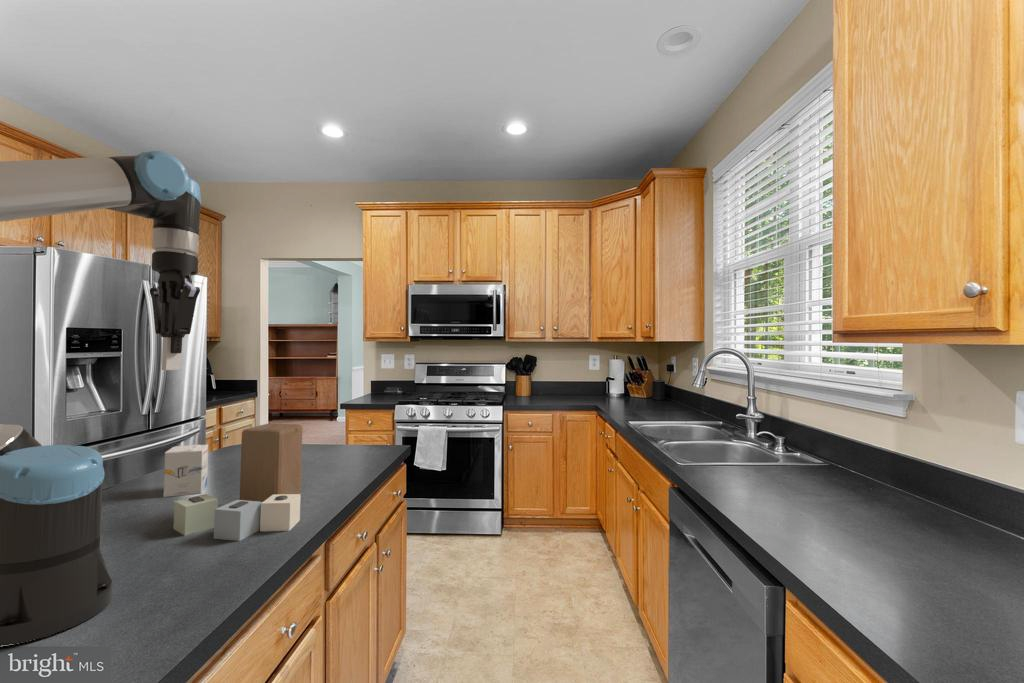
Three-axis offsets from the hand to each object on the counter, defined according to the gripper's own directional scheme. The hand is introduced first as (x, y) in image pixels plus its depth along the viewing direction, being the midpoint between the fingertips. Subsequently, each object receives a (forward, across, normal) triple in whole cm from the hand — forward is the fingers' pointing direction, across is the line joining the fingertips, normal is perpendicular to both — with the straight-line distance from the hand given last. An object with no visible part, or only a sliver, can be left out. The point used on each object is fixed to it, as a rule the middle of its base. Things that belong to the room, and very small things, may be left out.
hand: (171, 369), depth 90 cm
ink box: (+35, +30, -21) cm, 50 cm away
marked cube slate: (+35, -9, -9) cm, 37 cm away
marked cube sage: (+35, +2, -7) cm, 35 cm away
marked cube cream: (+35, -13, -16) cm, 40 cm away
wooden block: (+35, -2, -22) cm, 41 cm away
